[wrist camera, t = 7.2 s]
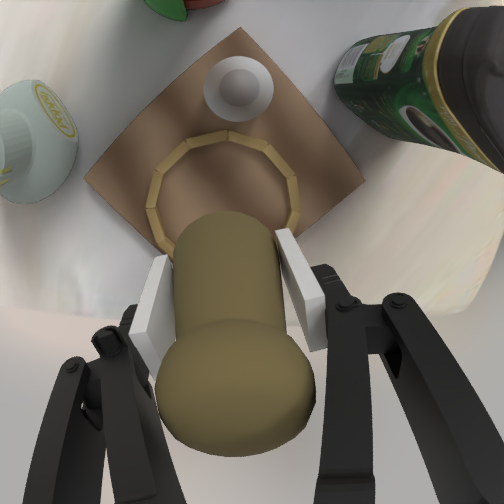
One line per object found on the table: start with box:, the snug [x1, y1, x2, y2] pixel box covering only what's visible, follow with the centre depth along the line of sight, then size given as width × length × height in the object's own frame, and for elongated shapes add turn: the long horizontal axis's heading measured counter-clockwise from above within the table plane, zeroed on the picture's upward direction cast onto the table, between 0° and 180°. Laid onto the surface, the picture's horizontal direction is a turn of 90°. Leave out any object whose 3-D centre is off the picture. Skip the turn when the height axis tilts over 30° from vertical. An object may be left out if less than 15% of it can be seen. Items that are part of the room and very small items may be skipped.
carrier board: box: [83, 27, 366, 263], centre depth 23 cm, size 18×17×8 cm
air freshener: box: [0, 80, 79, 204], centre depth 18 cm, size 11×8×10 cm
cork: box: [155, 211, 316, 457], centre depth 13 cm, size 6×6×11 cm
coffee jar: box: [334, 6, 504, 174], centre depth 16 cm, size 10×8×19 cm
